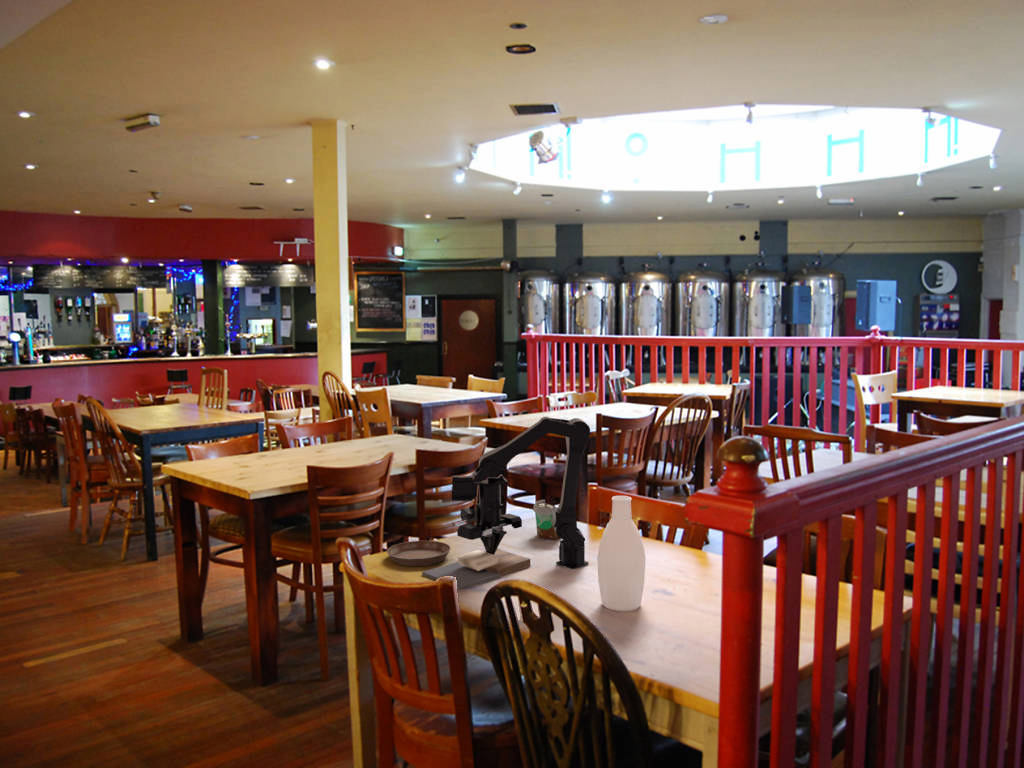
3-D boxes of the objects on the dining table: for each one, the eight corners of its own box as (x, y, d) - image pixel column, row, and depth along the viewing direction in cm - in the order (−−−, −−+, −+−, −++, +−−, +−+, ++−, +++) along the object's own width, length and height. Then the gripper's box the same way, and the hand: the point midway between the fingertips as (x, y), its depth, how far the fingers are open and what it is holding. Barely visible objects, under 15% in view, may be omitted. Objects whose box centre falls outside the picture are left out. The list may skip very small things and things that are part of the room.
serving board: (530, 566, 214) (530, 558, 214) (497, 576, 206) (497, 569, 205) (495, 555, 224) (495, 548, 224) (462, 564, 216) (462, 557, 216)
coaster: (498, 563, 210) (497, 556, 209) (478, 570, 205) (477, 563, 205) (478, 556, 215) (478, 549, 215) (458, 563, 211) (458, 556, 210)
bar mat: (500, 577, 205) (500, 574, 205) (461, 589, 196) (461, 586, 196) (460, 563, 216) (460, 560, 216) (422, 574, 208) (422, 571, 207)
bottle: (613, 592, 193) (613, 490, 191) (654, 603, 186) (655, 496, 184) (588, 606, 184) (587, 498, 182) (629, 617, 177) (630, 505, 175)
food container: (526, 533, 246) (526, 501, 245) (544, 530, 249) (543, 499, 248) (544, 543, 235) (544, 510, 234) (563, 540, 238) (562, 507, 237)
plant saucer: (378, 555, 225) (378, 545, 225) (436, 546, 234) (436, 536, 233) (399, 573, 210) (399, 562, 210) (460, 563, 218) (460, 552, 218)
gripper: (495, 490, 224) (496, 544, 225) (443, 501, 211) (444, 558, 213) (523, 496, 216) (523, 552, 217) (470, 508, 203) (471, 568, 205)
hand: (490, 557), depth 213 cm, fingers closed
